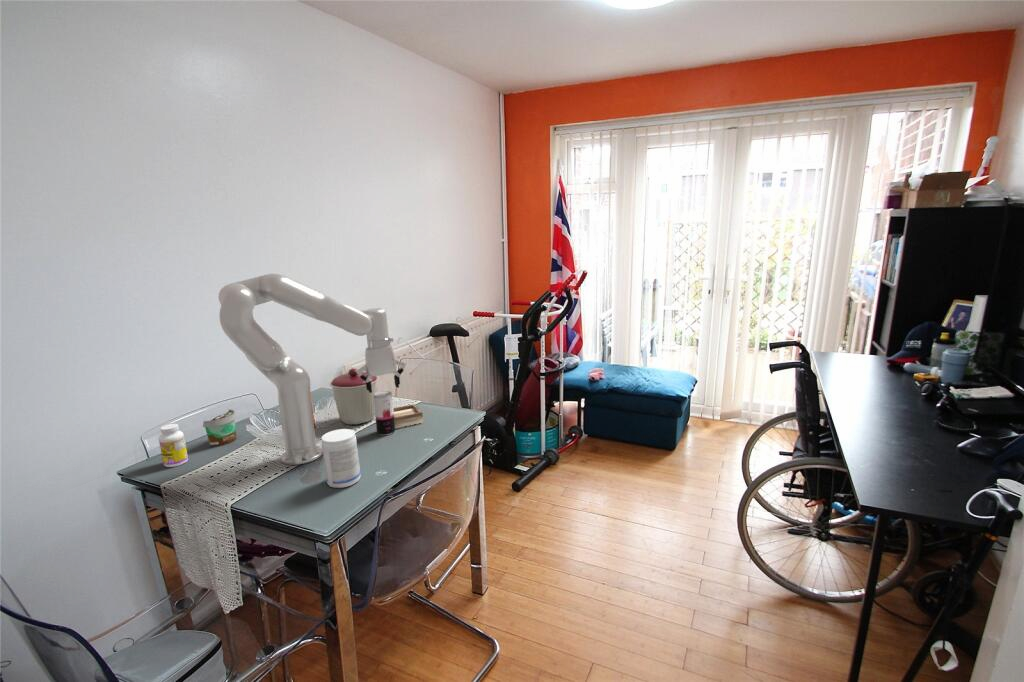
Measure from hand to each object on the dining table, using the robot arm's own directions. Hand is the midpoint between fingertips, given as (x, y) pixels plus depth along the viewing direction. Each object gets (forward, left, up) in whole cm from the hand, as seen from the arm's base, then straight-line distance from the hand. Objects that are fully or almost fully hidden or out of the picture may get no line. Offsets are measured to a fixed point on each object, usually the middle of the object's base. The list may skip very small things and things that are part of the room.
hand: (383, 389), depth 171 cm
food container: (+21, +53, -17) cm, 59 cm away
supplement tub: (-30, +20, -17) cm, 40 cm away
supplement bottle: (+10, +67, -17) cm, 69 cm away
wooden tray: (+7, -8, -17) cm, 20 cm away
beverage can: (0, +1, -17) cm, 17 cm away
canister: (+18, +8, -17) cm, 26 cm away
